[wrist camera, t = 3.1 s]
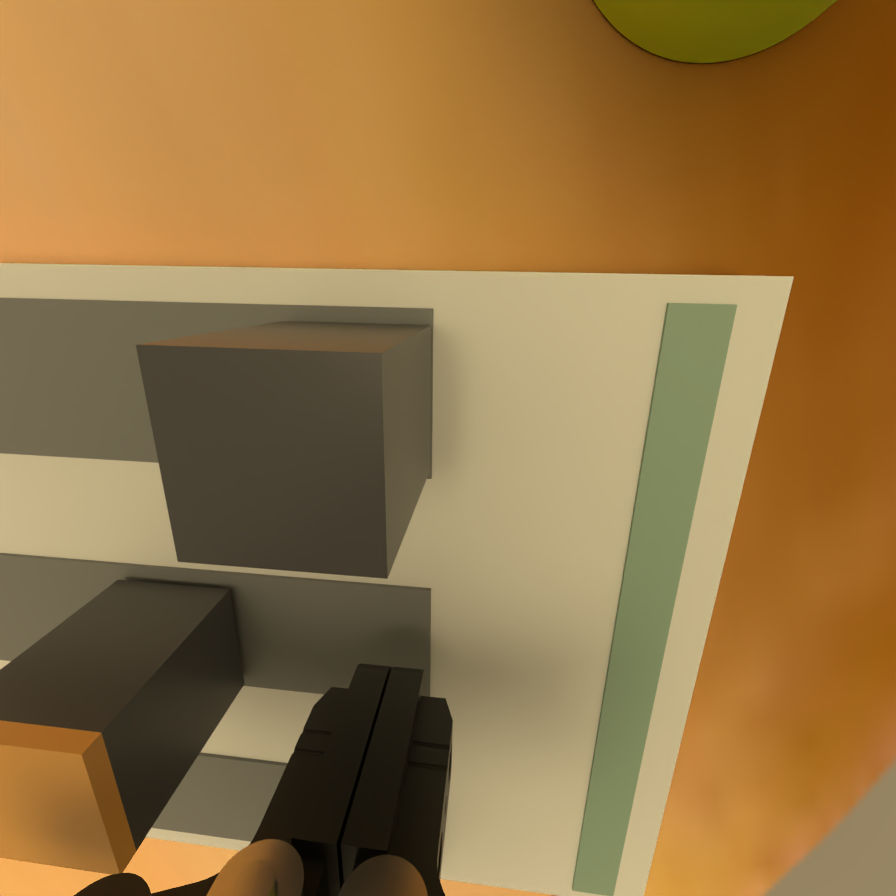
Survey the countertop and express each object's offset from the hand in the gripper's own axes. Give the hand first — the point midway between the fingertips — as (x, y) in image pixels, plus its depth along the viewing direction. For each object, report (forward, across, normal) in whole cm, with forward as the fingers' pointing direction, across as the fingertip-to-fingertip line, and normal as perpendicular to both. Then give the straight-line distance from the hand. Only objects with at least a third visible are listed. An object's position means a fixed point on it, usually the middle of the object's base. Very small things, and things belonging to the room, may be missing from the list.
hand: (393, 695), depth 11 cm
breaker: (+1, +1, -6) cm, 7 cm away
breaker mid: (+1, +6, 0) cm, 6 cm away
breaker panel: (+4, +6, 0) cm, 7 cm away
